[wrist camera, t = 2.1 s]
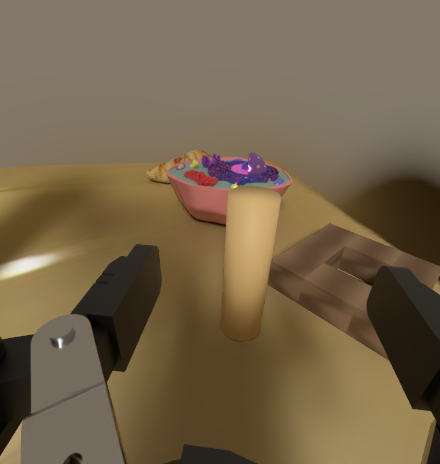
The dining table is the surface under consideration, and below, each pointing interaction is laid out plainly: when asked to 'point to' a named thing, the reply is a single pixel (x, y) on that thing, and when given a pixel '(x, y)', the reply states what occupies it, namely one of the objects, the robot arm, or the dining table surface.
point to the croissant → (161, 169)
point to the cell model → (221, 182)
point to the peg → (247, 258)
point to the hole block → (341, 278)
